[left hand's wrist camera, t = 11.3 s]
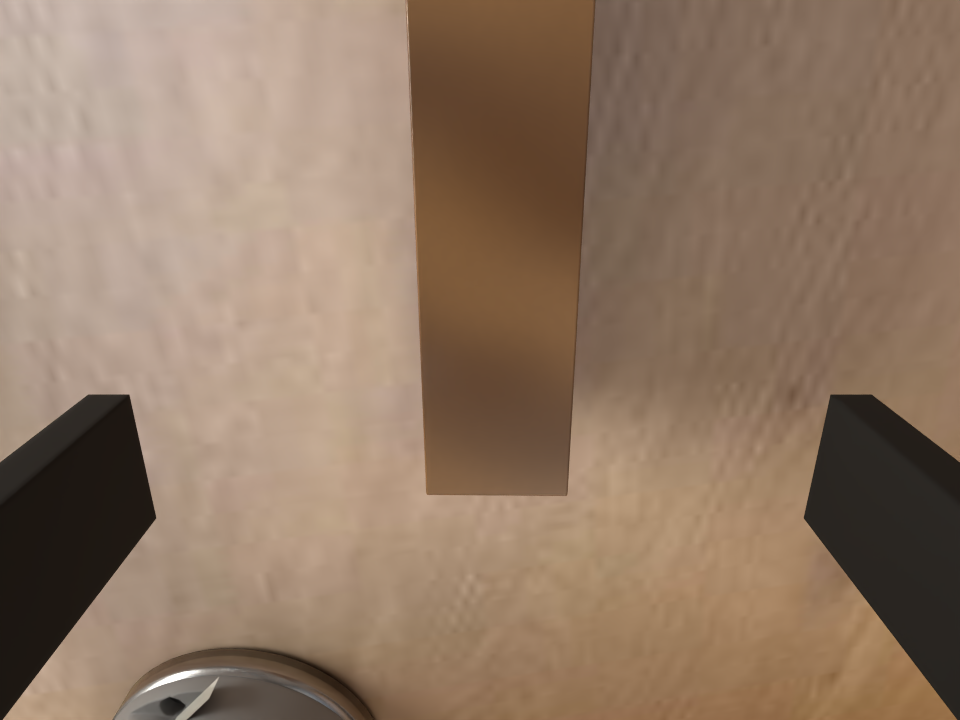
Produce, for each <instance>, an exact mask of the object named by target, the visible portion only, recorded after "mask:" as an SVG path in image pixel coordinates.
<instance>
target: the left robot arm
mask: <svg viewBox="0 0 960 720" xmlns="http://www.w3.org/2000/svg"><path fill="white" fill-rule="evenodd" d="M155 519H156V515H155V510H154V506H153V501H152V497H151V492H150V487H149V483H148V478H147V474H146V469H145V464H144V460H143V455H142V451H141V446H140V441H139V437H138V432H137V428H136V423H135V419H134V414H133V409H132V405H131V400H130V396H129V395H87V396H86V397H85V398H83V399H82V400H81V401H79V402H78V403H77V404H76V405H74V406H73V407H72V408H70V409H69V410H68V411H66V412H65V413H64V414H63V415H61V416H60V417H59V418H57V419H56V420H55V421H53V422H52V423H51V424H50V425H48V426H47V427H46V428H44V429H43V430H42V431H40V432H39V433H38V434H37V435H35V436H34V437H33V438H31V439H30V440H29V441H27V442H26V443H25V444H24V445H22V446H21V447H20V448H18V449H17V450H16V451H14V452H13V453H12V454H11V455H9V456H8V457H7V458H5V459H4V460H3V461H1V462H0V720H3V719H4V717H5V716H6V715H7V713H8V712H9V711H10V709H11V708H12V707H13V705H14V704H15V703H16V701H17V700H18V699H19V698H20V696H21V695H22V694H23V692H24V691H25V690H26V688H27V687H28V686H29V684H30V683H31V682H32V680H33V679H34V678H35V677H36V675H37V674H38V673H39V671H40V670H41V669H42V667H43V666H44V665H45V663H46V662H47V661H48V659H49V658H50V657H51V656H52V654H53V653H54V652H55V650H56V649H57V648H58V646H59V645H60V644H61V642H62V641H63V640H64V638H65V637H66V636H67V635H68V633H69V632H70V631H71V629H72V628H73V627H74V625H75V624H76V623H77V621H78V620H79V619H80V617H81V616H82V615H83V614H84V612H85V611H86V610H87V608H88V607H89V606H90V604H91V603H92V602H93V600H94V599H95V598H96V597H97V595H98V594H99V593H100V591H101V590H102V589H103V587H104V586H105V585H106V583H107V582H108V581H109V579H110V578H111V577H112V576H113V574H114V573H115V572H116V570H117V569H118V568H119V566H120V565H121V564H122V562H123V561H124V560H125V558H126V557H127V556H128V555H129V553H130V552H131V551H132V549H133V548H134V547H135V545H136V544H137V543H138V541H139V540H140V539H141V537H142V536H143V535H144V534H145V532H146V531H147V530H148V528H149V527H150V526H151V524H152V523H153V522H154V520H155ZM804 519H805V520H806V522H807V523H808V524H809V526H810V527H811V528H812V530H813V531H814V532H815V534H816V535H817V536H818V537H819V539H820V540H821V541H822V543H823V544H824V545H825V547H826V548H827V549H828V551H829V552H830V553H831V555H832V556H833V557H834V558H835V560H836V561H837V562H838V564H839V565H840V566H841V568H842V569H843V570H844V572H845V573H846V574H847V576H848V577H849V578H850V579H851V581H852V582H853V583H854V585H855V586H856V587H857V589H858V590H859V591H860V593H861V594H862V595H863V597H864V598H865V599H866V600H867V602H868V603H869V604H870V606H871V607H872V608H873V610H874V611H875V612H876V614H877V615H878V616H879V618H880V619H881V620H882V621H883V623H884V624H885V625H886V627H887V628H888V629H889V631H890V632H891V633H892V635H893V636H894V637H895V638H896V640H897V641H898V642H899V644H900V645H901V646H902V648H903V649H904V650H905V652H906V653H907V654H908V656H909V657H910V658H911V659H912V661H913V662H914V663H915V665H916V666H917V667H918V669H919V670H920V671H921V673H922V674H923V675H924V677H925V678H926V679H927V680H928V682H929V683H930V684H931V686H932V687H933V688H934V690H935V691H936V692H937V694H938V695H939V696H940V698H941V699H942V700H943V701H944V703H945V704H946V705H947V707H948V708H949V709H950V711H951V712H952V713H953V715H954V716H955V717H956V719H957V720H960V462H959V461H957V460H956V459H955V458H953V457H952V456H951V455H949V454H948V453H947V452H946V451H944V450H943V449H942V448H940V447H939V446H938V445H936V444H935V443H934V442H933V441H931V440H930V439H929V438H927V437H926V436H925V435H923V434H922V433H921V432H920V431H918V430H917V429H916V428H914V427H913V426H912V425H910V424H909V423H908V422H907V421H905V420H904V419H903V418H901V417H900V416H899V415H897V414H896V413H895V412H894V411H892V410H891V409H890V408H888V407H887V406H886V405H884V404H883V403H882V402H881V401H879V400H878V399H877V398H875V397H874V396H873V395H831V396H830V400H829V405H828V409H827V414H826V419H825V423H824V428H823V432H822V437H821V441H820V446H819V451H818V455H817V460H816V464H815V469H814V474H813V478H812V483H811V487H810V492H809V497H808V501H807V506H806V510H805V515H804ZM113 720H373V718H372V716H371V715H370V713H369V712H368V710H367V709H366V707H365V706H364V705H363V704H362V703H361V702H360V700H359V699H358V698H357V697H356V696H355V695H354V694H352V693H351V692H350V691H349V690H348V689H347V688H346V687H344V686H343V685H342V684H341V683H339V682H338V681H336V680H335V679H333V678H332V677H330V676H329V675H327V674H325V673H323V672H321V671H320V670H318V669H316V668H314V667H311V666H309V665H307V664H305V663H302V662H300V661H297V660H294V659H291V658H288V657H285V656H281V655H278V654H273V653H268V652H263V651H256V650H248V649H213V650H205V651H198V652H194V653H189V654H185V655H182V656H179V657H176V658H173V659H171V660H169V661H167V662H164V663H162V664H160V665H159V666H157V667H155V668H154V669H152V670H151V671H149V672H148V673H147V674H145V675H144V676H143V677H142V678H141V679H140V680H139V681H138V682H137V683H136V684H135V685H134V686H133V687H132V689H131V690H130V691H129V693H128V695H127V696H126V698H125V700H124V701H123V703H122V705H121V707H120V708H119V710H118V712H117V713H116V715H115V717H114V718H113Z"/></svg>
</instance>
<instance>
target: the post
mask: <svg viewBox="0 0 960 720" xmlns="http://www.w3.org/2000/svg"><path fill="white" fill-rule="evenodd" d="M594 16H595V0H406V19H407V43H408V66H409V90H410V114H411V138H412V162H413V186H414V210H415V234H416V258H417V282H418V305H419V329H420V353H421V377H422V401H423V425H424V449H425V473H426V493H427V495H521V496H567V492H568V475H569V457H570V439H571V422H572V404H573V387H574V369H575V351H576V334H577V316H578V298H579V281H580V263H581V245H582V228H583V210H584V192H585V175H586V157H587V140H588V122H589V104H590V87H591V69H592V51H593V34H594Z"/></svg>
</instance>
